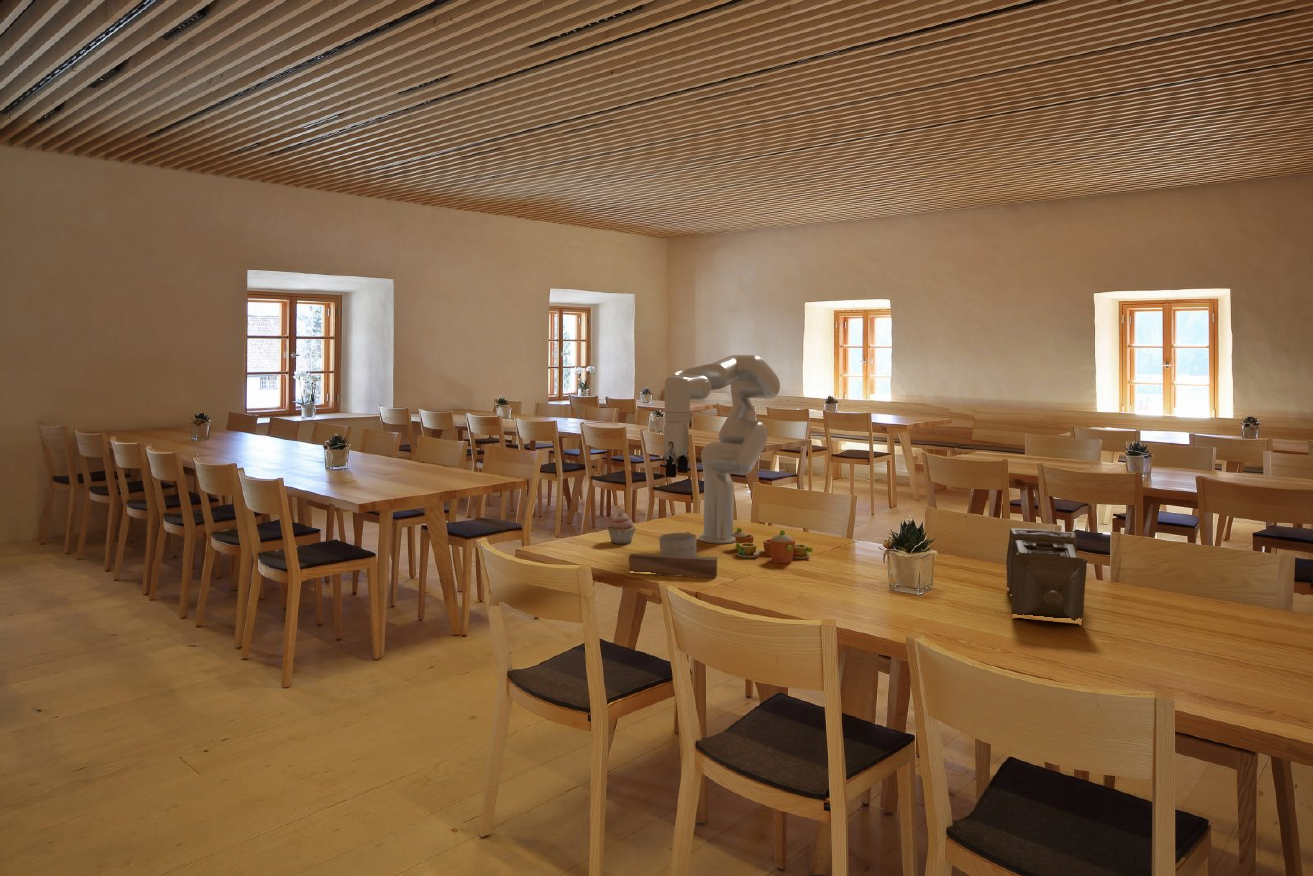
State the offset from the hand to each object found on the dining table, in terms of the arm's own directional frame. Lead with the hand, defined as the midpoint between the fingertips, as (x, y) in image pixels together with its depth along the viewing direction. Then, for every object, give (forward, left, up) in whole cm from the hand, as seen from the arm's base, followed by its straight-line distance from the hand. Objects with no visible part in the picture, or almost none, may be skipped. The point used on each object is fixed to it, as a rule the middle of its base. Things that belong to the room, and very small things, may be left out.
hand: (676, 474), depth 272 cm
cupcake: (-12, -19, -24) cm, 33 cm away
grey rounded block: (+9, +3, -24) cm, 26 cm away
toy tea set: (-3, +27, -25) cm, 37 cm away
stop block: (+25, +3, -24) cm, 35 cm away
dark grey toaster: (+44, +95, -24) cm, 107 cm away
